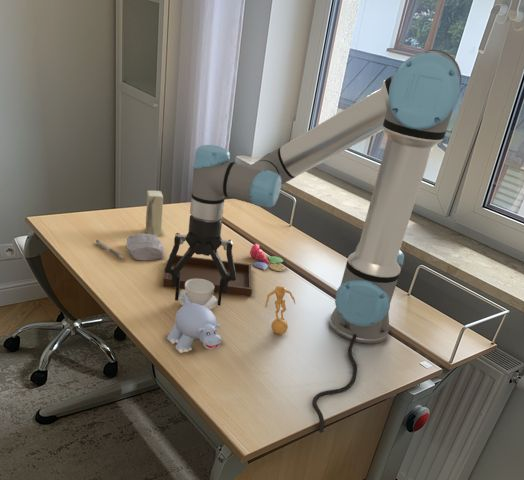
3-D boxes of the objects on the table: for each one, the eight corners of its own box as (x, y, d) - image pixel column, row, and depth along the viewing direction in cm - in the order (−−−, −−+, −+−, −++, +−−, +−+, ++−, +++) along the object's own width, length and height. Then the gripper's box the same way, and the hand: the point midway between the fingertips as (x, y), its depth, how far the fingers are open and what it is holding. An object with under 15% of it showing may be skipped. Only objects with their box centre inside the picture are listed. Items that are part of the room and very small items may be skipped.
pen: (97, 242, 161) (97, 238, 161) (125, 261, 154) (125, 256, 154) (94, 243, 161) (94, 239, 160) (122, 262, 154) (122, 257, 153)
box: (145, 229, 175) (146, 189, 168) (159, 229, 176) (160, 190, 169) (147, 236, 171) (148, 195, 164) (161, 236, 172) (163, 196, 165)
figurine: (267, 339, 131) (275, 296, 125) (256, 326, 136) (263, 283, 129) (296, 335, 135) (305, 292, 128) (284, 322, 139) (293, 280, 133)
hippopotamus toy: (191, 367, 118) (195, 330, 112) (160, 332, 127) (162, 296, 122) (233, 356, 124) (239, 320, 118) (200, 323, 133) (204, 288, 128)
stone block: (132, 266, 156) (166, 259, 159) (128, 251, 153) (163, 243, 156) (125, 250, 165) (157, 243, 168) (121, 235, 162) (155, 228, 165)
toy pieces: (243, 265, 164) (245, 251, 161) (252, 251, 173) (254, 238, 170) (281, 274, 162) (284, 261, 160) (289, 260, 171) (291, 247, 169)
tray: (250, 296, 148) (251, 289, 147) (162, 286, 146) (163, 278, 144) (250, 271, 161) (251, 264, 160) (169, 261, 158) (170, 254, 157)
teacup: (208, 290, 144) (209, 274, 142) (224, 309, 137) (226, 292, 135) (172, 294, 140) (173, 278, 137) (186, 314, 133) (188, 297, 130)
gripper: (254, 217, 130) (242, 298, 143) (158, 204, 128) (155, 288, 140) (254, 229, 124) (242, 313, 136) (154, 215, 122) (151, 302, 134)
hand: (198, 300), depth 138 cm, fingers closed on teacup, 10 cm apart
